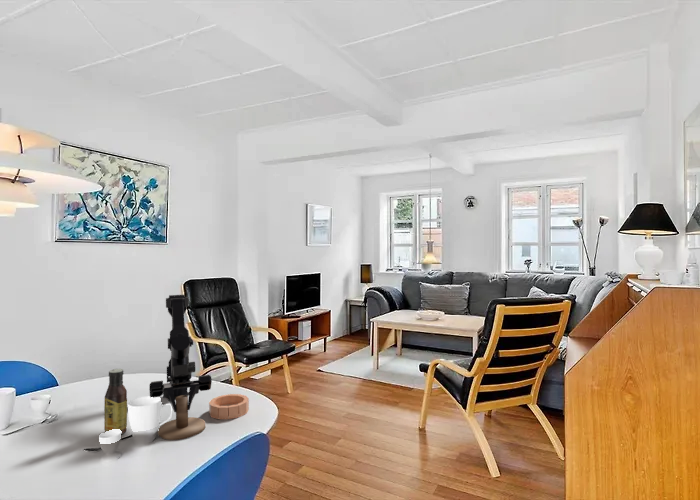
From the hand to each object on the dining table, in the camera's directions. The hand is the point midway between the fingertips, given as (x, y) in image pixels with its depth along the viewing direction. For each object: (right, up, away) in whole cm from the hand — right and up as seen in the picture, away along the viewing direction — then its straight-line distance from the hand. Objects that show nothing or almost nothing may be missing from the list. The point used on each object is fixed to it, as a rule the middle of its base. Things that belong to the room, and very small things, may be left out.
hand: (182, 410), depth 135 cm
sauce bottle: (-20, -7, -1) cm, 22 cm away
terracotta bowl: (+10, -6, +16) cm, 20 cm away
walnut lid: (0, -7, +1) cm, 7 cm away
